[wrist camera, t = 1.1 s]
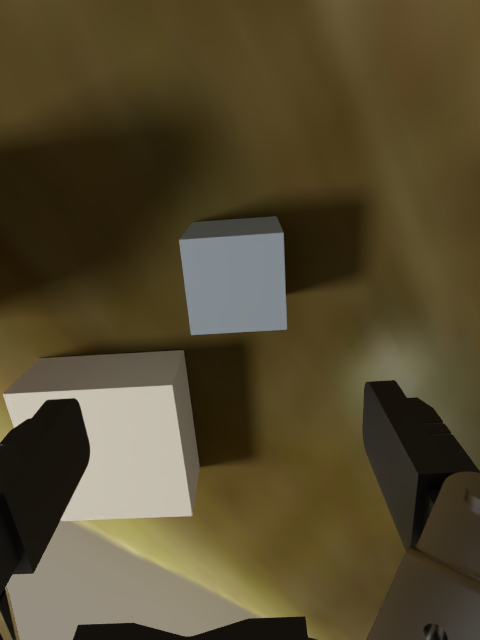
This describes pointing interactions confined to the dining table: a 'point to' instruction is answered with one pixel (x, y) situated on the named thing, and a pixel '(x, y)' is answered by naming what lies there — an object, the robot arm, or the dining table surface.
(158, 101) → the dining table surface
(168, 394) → the cream block
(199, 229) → the slate cube
